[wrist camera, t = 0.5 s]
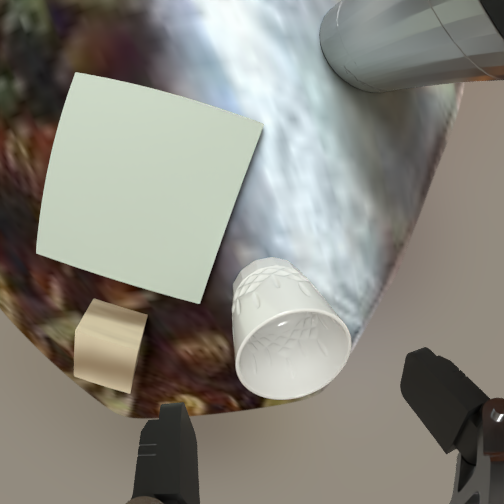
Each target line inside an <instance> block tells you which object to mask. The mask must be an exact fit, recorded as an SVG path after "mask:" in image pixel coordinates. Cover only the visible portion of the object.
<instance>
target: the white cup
mask: <svg viewBox="0 0 504 504" xmlns="http://www.w3.org/2000/svg"><path fill="white" fill-rule="evenodd" d="M232 302H233V304H232V323H233V340H234V352H235V364H236V372H237V375H238V377H239V379H240V381H241V382H242V384H243V385H244V386H245V387H246V388H247V389H248V390H250V391H251V392H253V393H254V394H256V395H259V396H261V397H264V398H268V399H275V400H288V399H295V398H299V397H303V396H306V395H309V394H311V393H314V392H316V391H318V390H320V389H321V388H323V387H324V386H326V385H327V384H329V383H330V382H331V381H332V380H333V379H334V378H335V377H336V376H337V375H338V374H339V373H340V372H341V371H342V369H343V368H344V366H345V364H346V363H347V361H348V358H349V355H350V352H351V336H350V332H349V330H348V328H347V326H346V325H345V323H344V322H343V321H342V320H341V318H340V317H339V316H338V315H337V314H336V312H335V311H334V310H333V309H332V307H331V306H330V305H329V304H328V302H327V301H326V300H325V299H324V297H323V296H322V295H321V294H320V292H319V291H318V290H317V289H316V288H315V287H314V286H313V284H312V283H311V282H310V281H309V280H308V279H307V278H306V277H305V276H304V275H303V274H302V273H301V271H300V270H299V269H297V268H296V267H295V266H294V265H293V264H291V263H290V262H289V261H288V260H284V259H279V258H275V257H269V258H264V259H259V260H255V261H253V262H252V263H251V264H249V265H248V266H246V267H245V268H243V269H242V270H241V271H240V273H239V275H238V276H237V278H236V280H235V282H234V283H233V294H232Z"/></svg>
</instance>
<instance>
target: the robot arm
mask: <svg viewBox="0 0 504 504" xmlns="http://www.w3.org/2000/svg"><path fill="white" fill-rule="evenodd" d="M320 43H321V47H322V50H323V53H324V55H325V57H326V59H327V61H328V63H329V64H330V66H331V67H332V68H333V69H334V71H335V72H336V73H337V74H338V75H339V76H340V77H341V78H342V79H343V80H344V81H346V82H348V83H349V84H351V85H352V86H354V87H356V88H359V89H361V90H363V91H368V92H387V91H393V90H399V89H407V88H414V87H422V86H430V85H439V84H449V83H460V82H474V81H494V80H504V0H341V1H340V2H338V3H337V4H336V5H335V6H334V7H333V8H332V9H330V10H329V12H328V13H327V14H326V15H325V17H324V19H323V21H322V23H321V28H320ZM400 387H401V392H402V395H403V397H404V399H405V400H406V401H407V403H408V404H409V405H410V407H411V408H412V409H413V410H414V412H415V413H416V414H417V416H418V417H419V418H420V419H421V421H422V422H423V424H424V425H425V426H426V428H427V429H428V430H429V431H430V433H431V434H432V435H433V437H434V438H435V439H436V441H437V442H438V443H439V445H440V446H441V447H442V449H443V450H444V452H445V453H446V454H448V453H450V452H451V451H453V450H455V449H458V450H459V454H458V456H457V464H456V473H455V481H454V488H453V495H452V498H451V501H450V503H449V504H504V399H503V398H493V399H490V398H489V397H488V396H486V394H485V393H484V392H483V391H482V390H481V389H479V388H478V387H477V386H476V385H475V384H474V383H473V382H472V381H471V380H470V379H469V378H468V377H466V376H465V374H464V373H463V372H462V371H461V370H460V371H459V368H458V367H457V366H455V365H454V364H453V363H452V362H451V361H450V360H448V359H445V358H443V357H441V356H436V355H435V354H434V353H433V352H432V351H431V350H430V349H428V348H426V347H424V348H421V349H419V350H416V351H413V352H411V353H408V354H407V356H406V359H405V364H404V369H403V374H402V379H401V384H400ZM139 445H140V446H139V449H138V457H137V464H136V472H135V481H134V490H133V495H132V498H131V500H130V501H128V502H127V503H126V504H200V498H199V479H198V457H197V441H196V436H195V432H194V428H193V426H192V423H191V421H190V418H189V415H188V412H187V409H186V407H185V404H184V403H183V402H182V403H171V404H162V405H161V407H160V415H159V419H158V420H148V422H147V423H146V425H145V426H144V428H143V429H142V431H141V436H140V442H139Z"/></svg>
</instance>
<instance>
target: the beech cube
mask: <svg viewBox="0 0 504 504" xmlns="http://www.w3.org/2000/svg"><path fill="white" fill-rule="evenodd" d="M147 316H148V315H146V314H142V313H139V312H136V311H132V310H129V309H126V308H122V307H119V306H116V305H113V304H109V303H106V302H103V301H100V300H97V299H93V301H92V302H91V304H90V306H89V307H88V309H87V311H86V313H85V314H84V316H83V318H82V320H81V321H80V323H79V325H78V327H77V328H76V330H75V348H74V376H75V377H78V378H81V379H84V380H87V381H90V382H93V383H96V384H99V385H102V386H105V387H109V388H112V389H115V390H119V391H122V392H126V393H129V394H130V392H131V388H132V383H133V379H134V374H135V370H136V366H137V361H138V357H139V352H140V348H141V343H142V338H143V334H144V329H145V325H146V320H147Z"/></svg>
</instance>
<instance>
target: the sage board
mask: <svg viewBox="0 0 504 504" xmlns="http://www.w3.org/2000/svg"><path fill="white" fill-rule="evenodd" d="M263 126H264V124H263V123H260V122H257V121H254V120H252V119H249V118H246V117H243V116H241V115H238V114H235V113H232V112H229V111H226V110H223V109H220V108H217V107H214V106H211V105H208V104H204V103H201V102H198V101H195V100H191V99H188V98H185V97H181V96H178V95H174V94H171V93H167V92H163V91H159V90H156V89H152V88H148V87H144V86H140V85H135V84H131V83H127V82H122V81H118V80H113V79H108V78H103V77H98V76H93V75H88V74H82V73H75V75H74V78H73V81H72V84H71V87H70V90H69V93H68V96H67V99H66V102H65V105H64V108H63V111H62V115H61V118H60V122H59V125H58V129H57V132H56V136H55V140H54V144H53V148H52V153H51V157H50V161H49V166H48V171H47V176H46V181H45V187H44V192H43V198H42V205H41V212H40V219H39V228H38V237H37V247H36V253H37V254H40V255H43V256H45V257H48V258H51V259H54V260H57V261H60V262H62V263H65V264H68V265H71V266H74V267H77V268H80V269H83V270H86V271H89V272H92V273H95V274H98V275H102V276H105V277H108V278H111V279H114V280H117V281H121V282H124V283H127V284H130V285H134V286H137V287H140V288H144V289H147V290H151V291H154V292H158V293H161V294H165V295H168V296H172V297H175V298H179V299H182V300H186V301H190V302H193V303H197V304H200V302H201V299H202V296H203V293H204V290H205V287H206V284H207V281H208V278H209V275H210V272H211V269H212V266H213V263H214V260H215V258H216V255H217V252H218V249H219V246H220V243H221V240H222V237H223V235H224V232H225V229H226V226H227V223H228V220H229V218H230V215H231V212H232V209H233V207H234V204H235V201H236V198H237V195H238V193H239V190H240V187H241V185H242V182H243V179H244V176H245V174H246V171H247V168H248V166H249V163H250V160H251V158H252V155H253V152H254V150H255V147H256V144H257V142H258V139H259V136H260V134H261V131H262V129H263Z"/></svg>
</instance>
